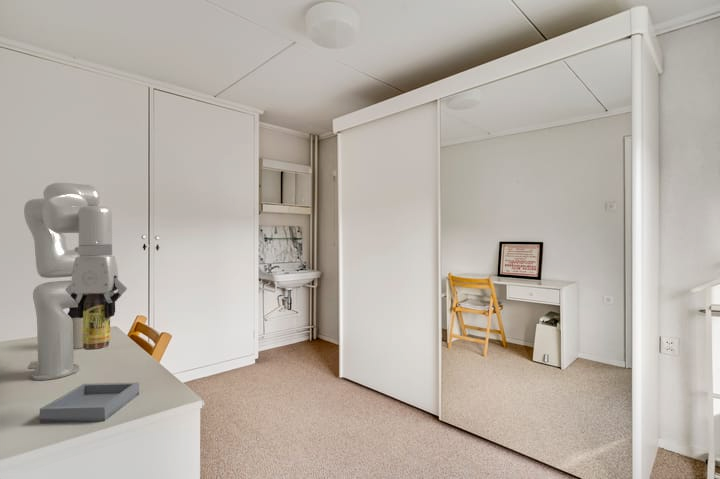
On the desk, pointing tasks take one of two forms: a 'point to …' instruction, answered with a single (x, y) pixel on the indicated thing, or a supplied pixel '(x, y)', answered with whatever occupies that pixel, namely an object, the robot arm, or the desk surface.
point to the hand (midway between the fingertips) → (96, 316)
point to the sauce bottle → (95, 323)
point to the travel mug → (76, 327)
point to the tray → (89, 402)
